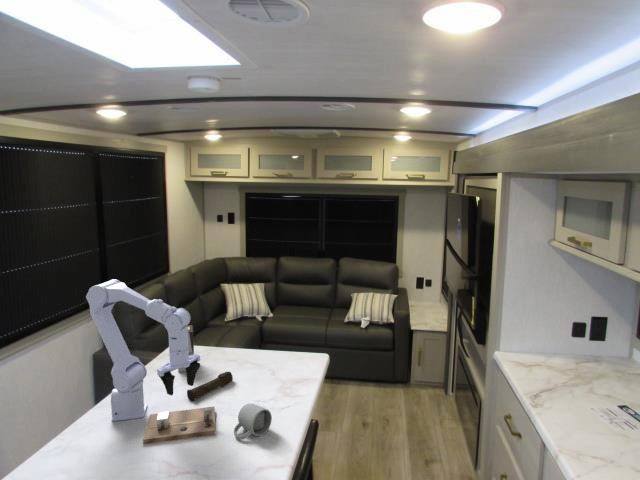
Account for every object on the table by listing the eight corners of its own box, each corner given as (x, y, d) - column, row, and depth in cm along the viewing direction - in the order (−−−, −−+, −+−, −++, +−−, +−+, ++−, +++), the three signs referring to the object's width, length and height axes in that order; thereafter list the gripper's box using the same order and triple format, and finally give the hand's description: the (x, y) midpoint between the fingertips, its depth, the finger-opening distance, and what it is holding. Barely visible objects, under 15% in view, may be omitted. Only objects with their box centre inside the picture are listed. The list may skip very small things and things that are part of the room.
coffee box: (194, 370, 172) (193, 331, 170) (178, 372, 170) (176, 333, 168) (194, 361, 181) (192, 324, 179) (178, 363, 179) (176, 326, 177)
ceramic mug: (255, 419, 136) (254, 397, 135) (272, 429, 131) (271, 405, 130) (227, 435, 128) (226, 411, 127) (245, 445, 123) (244, 420, 122)
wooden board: (143, 444, 123) (142, 428, 123) (149, 418, 137) (149, 404, 136) (214, 434, 128) (214, 419, 128) (214, 410, 142) (214, 396, 141)
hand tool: (192, 403, 147) (192, 390, 146) (186, 399, 150) (186, 386, 149) (237, 384, 161) (236, 372, 161) (230, 380, 164) (230, 369, 163)
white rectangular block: (157, 430, 127) (156, 421, 127) (159, 421, 132) (158, 412, 131) (167, 429, 128) (167, 419, 127) (169, 420, 132) (168, 411, 132)
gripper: (166, 359, 126) (168, 402, 128) (205, 344, 138) (207, 384, 140) (152, 353, 130) (154, 395, 132) (191, 339, 142) (193, 378, 144)
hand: (180, 389), depth 136 cm, fingers open, 7 cm apart
